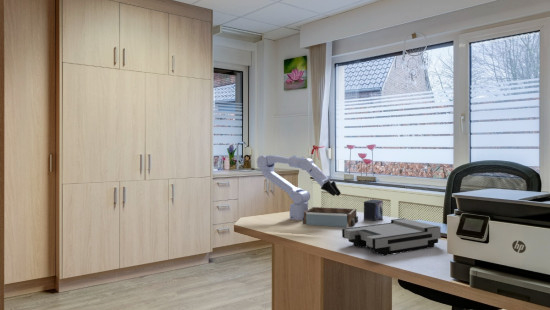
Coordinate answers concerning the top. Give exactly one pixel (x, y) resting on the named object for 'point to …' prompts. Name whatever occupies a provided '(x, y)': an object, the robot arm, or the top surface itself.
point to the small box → (373, 210)
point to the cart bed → (350, 213)
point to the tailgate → (326, 219)
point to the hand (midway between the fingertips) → (337, 194)
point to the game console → (394, 236)
